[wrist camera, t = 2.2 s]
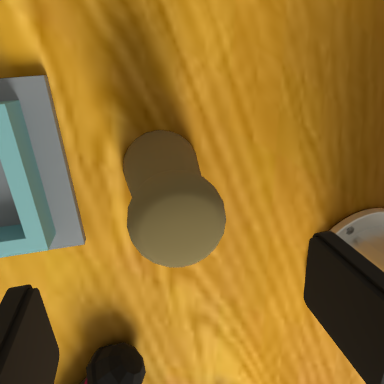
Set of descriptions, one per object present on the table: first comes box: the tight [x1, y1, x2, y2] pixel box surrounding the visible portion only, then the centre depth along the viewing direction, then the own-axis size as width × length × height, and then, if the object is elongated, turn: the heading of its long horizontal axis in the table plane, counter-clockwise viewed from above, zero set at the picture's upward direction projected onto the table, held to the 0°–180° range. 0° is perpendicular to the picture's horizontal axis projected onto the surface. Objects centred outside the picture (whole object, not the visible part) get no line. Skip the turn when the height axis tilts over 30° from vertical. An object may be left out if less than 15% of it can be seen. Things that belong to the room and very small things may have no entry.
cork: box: [123, 130, 226, 267], centre depth 19 cm, size 6×6×11 cm
